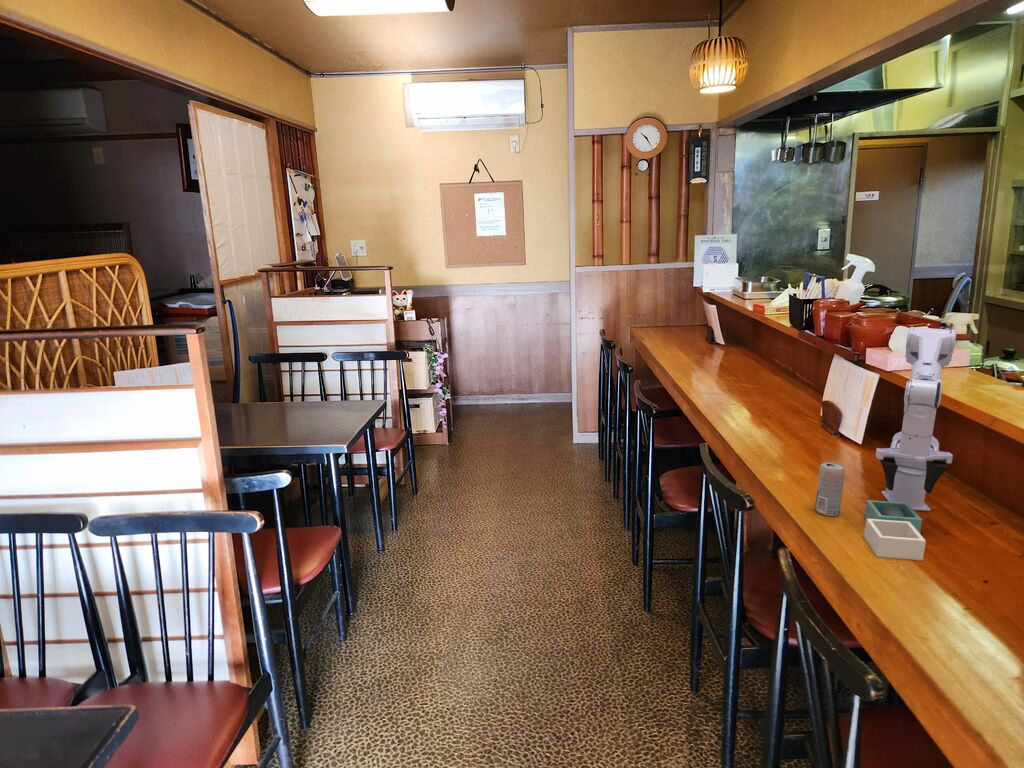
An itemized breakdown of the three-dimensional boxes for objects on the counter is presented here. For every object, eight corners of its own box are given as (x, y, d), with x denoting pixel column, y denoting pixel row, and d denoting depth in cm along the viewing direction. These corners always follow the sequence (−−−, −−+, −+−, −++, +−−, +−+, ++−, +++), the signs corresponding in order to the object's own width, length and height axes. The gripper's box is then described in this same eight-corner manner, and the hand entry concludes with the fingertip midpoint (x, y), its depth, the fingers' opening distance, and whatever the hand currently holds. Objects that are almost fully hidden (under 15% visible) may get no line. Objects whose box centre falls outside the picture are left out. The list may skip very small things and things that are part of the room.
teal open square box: (864, 517, 148) (866, 500, 147) (904, 520, 146) (907, 502, 145) (876, 534, 140) (879, 516, 139) (919, 538, 138) (922, 519, 137)
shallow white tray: (864, 536, 139) (866, 518, 138) (906, 540, 137) (909, 521, 136) (877, 556, 131) (879, 537, 130) (922, 560, 129) (925, 540, 128)
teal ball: (875, 521, 146) (877, 502, 145) (899, 523, 145) (901, 503, 144) (882, 532, 141) (885, 512, 140) (907, 533, 140) (909, 513, 139)
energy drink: (832, 506, 154) (837, 461, 151) (844, 516, 149) (850, 469, 146) (810, 507, 154) (815, 462, 151) (822, 517, 149) (827, 470, 146)
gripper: (886, 437, 135) (878, 495, 138) (962, 441, 132) (952, 500, 135) (875, 426, 142) (868, 482, 145) (948, 430, 138) (938, 486, 142)
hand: (908, 489), depth 141 cm, fingers open, 7 cm apart
